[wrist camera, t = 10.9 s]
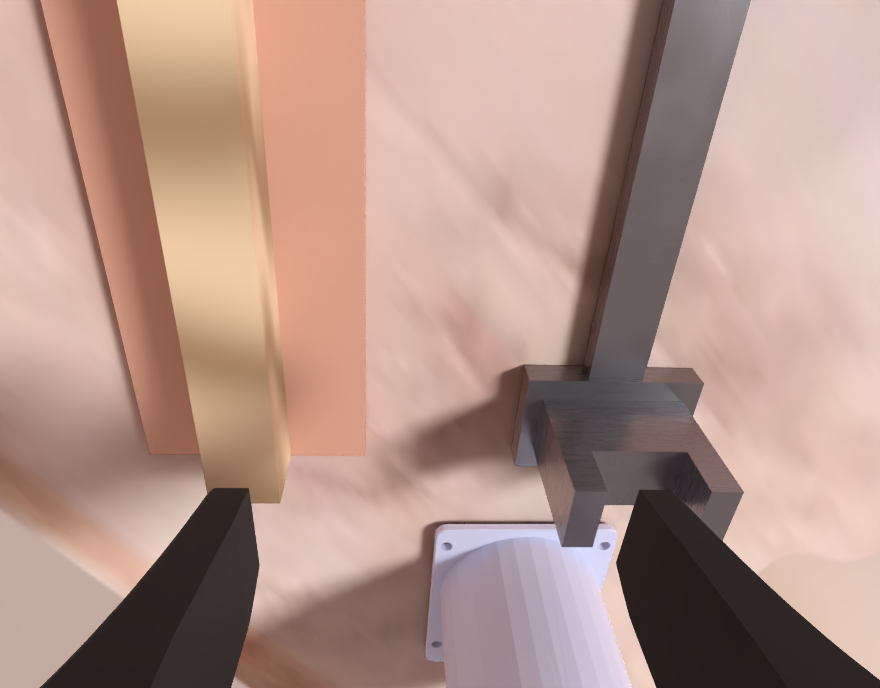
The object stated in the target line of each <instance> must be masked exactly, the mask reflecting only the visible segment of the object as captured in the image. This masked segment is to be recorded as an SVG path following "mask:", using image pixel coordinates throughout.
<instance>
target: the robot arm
mask: <svg viewBox="0 0 880 688" xmlns="http://www.w3.org/2000/svg"><path fill="white" fill-rule="evenodd" d="M617 538H618V534H617V531H616V529H615V527H614V526H613V525H611V524H599V526H598V530H597V533H596V537H595V540H594V544H593V547H561V544H560V540H559V537H558V533H557V530H556V526H555V524H444V525H441V526H439V527H438V528H437V529H436V531H435V540H434V552H433V564H432V576H431V588H430V600H429V612H428V624H427V636H426V648H425V655H426V658H427V659H428V660H429V661H432V662H444V666H445V681H446V688H632V685H631V682H630V679H629V676H628V673H627V670H626V667H625V664H624V661H623V658H622V655H621V652H620V649H619V646H618V643H617V640H616V637H615V634H614V631H613V628H612V625H611V622H610V619H609V616H608V613H607V610H606V607H605V604H604V600H603V597H602V594H601V590H602V586H603V583H604V580H605V577H606V573H607V570H608V567H609V564H610V560H611V557H612V554H613V551H614V547H615V544H616V541H617ZM446 542H448V543H446ZM602 542H603V543H602ZM445 543H446V544H445ZM616 565H617V569H618V573H619V577H620V581H621V586H622V590H623V594H624V598H625V601H626V605H627V609H628V613H629V616H630V619H631V622H632V625H633V627H634V630H635V633H636V635H637V638H638V641H639V643H640V646H641V649H642V651H643V654H644V656H645V659H646V662H647V664H648V667H649V669H650V672H651V675H652V677H653V680H654V682H655V685H656V688H880V680H879V679H877V678H876V677H875V676H873V674H871V673H870V672H869V671H868V670H866V669H865V668H864V667H862V666H861V665H860V664H859V663H857V662H856V661H855V660H853V659H852V658H851V657H849V656H848V655H847V654H846V653H845V652H843V651H842V650H841V649H840V648H839V647H837V646H836V645H835V644H834V643H833V642H831V641H830V640H829V639H828V638H826V637H825V636H824V635H823V634H822V633H821V632H820V631H819V630H817V629H816V628H815V627H814V626H813V625H812V624H811V623H809V622H808V621H807V620H806V619H805V618H804V617H803V616H801V615H800V614H799V613H798V612H797V611H796V610H795V609H793V608H792V607H791V606H790V605H789V604H788V603H787V602H786V601H785V600H783V599H782V598H781V597H780V596H779V595H778V594H777V593H776V592H775V591H774V590H773V589H771V588H770V587H769V586H768V585H767V584H766V583H765V582H764V581H763V580H762V579H761V578H760V577H759V576H758V575H757V574H756V573H755V572H754V571H752V570H751V569H750V568H749V567H748V566H747V565H746V564H745V563H744V562H743V561H742V560H741V559H740V558H739V557H738V556H737V555H736V554H735V553H734V552H733V551H732V550H731V549H730V548H729V547H728V546H727V545H726V544H725V543H724V542H723V541H722V540H721V539H720V538H719V537H718V536H717V535H716V534H715V533H714V532H713V531H712V530H711V529H710V528H709V527H708V526H707V525H706V524H705V523H704V522H703V521H702V520H701V519H700V518H699V517H698V516H697V515H696V514H695V513H694V512H693V511H692V510H691V509H690V508H689V507H688V506H687V505H686V504H685V503H684V502H683V501H682V500H681V499H680V498H679V497H678V496H677V495H676V494H674V493H673V492H672V491H671V490H639V492H638V495H637V498H636V501H635V505H634V508H633V511H632V514H631V517H630V520H629V524H628V527H627V530H626V533H625V536H624V539H623V543H622V546H621V549H620V552H619V555H618V558H617V562H616ZM258 571H259V558H258V551H257V543H256V536H255V529H254V521H253V514H252V506H251V499H250V492H249V488H214V489H212V490H211V491H210V492H209V493H208V494H207V495H206V497H205V498H204V500H203V501H202V502H201V504H200V505H199V506H198V508H197V509H196V510H195V512H194V513H193V514H192V516H191V517H190V518H189V520H188V521H187V522H186V524H185V525H184V526H183V528H182V529H181V530H180V532H179V533H178V534H177V536H176V537H175V538H174V539H173V541H172V542H171V543H170V544H169V546H168V547H167V548H166V550H165V551H164V552H163V553H162V555H161V556H160V557H159V558H158V559H157V561H156V562H155V563H154V564H153V565H152V567H151V568H150V569H149V570H148V571H147V573H146V574H145V575H144V576H143V577H142V579H141V580H140V581H139V582H138V583H137V585H136V586H135V587H134V588H133V589H132V591H131V592H130V593H129V594H128V595H127V596H126V598H125V599H124V600H123V601H122V602H121V603H120V604H119V605H118V606H117V608H116V609H115V610H114V611H113V612H112V613H111V614H110V615H109V616H108V618H107V619H106V620H105V621H104V622H103V623H102V624H101V625H100V626H99V627H98V629H97V630H96V631H95V632H94V633H93V634H92V635H91V636H90V637H89V638H88V640H87V641H86V642H85V643H84V644H83V645H82V646H81V647H80V648H79V649H78V650H77V651H76V652H75V653H74V654H73V655H72V656H71V657H70V658H69V659H68V660H67V661H66V662H65V663H64V664H63V665H62V666H61V668H59V669H58V670H57V672H56V673H55V674H54V675H52V676H51V677H50V678H49V679H48V680H47V682H45V683H44V684H43V685H42V686H41V687H40V688H231V685H232V682H233V679H234V675H235V672H236V668H237V665H238V661H239V658H240V654H241V651H242V647H243V644H244V640H245V637H246V633H247V630H248V626H249V622H250V617H251V612H252V606H253V601H254V595H255V589H256V583H257V577H258Z"/></svg>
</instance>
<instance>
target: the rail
mask: <svg viewBox="0 0 880 688" xmlns="http://www.w3.org/2000/svg"><path fill="white" fill-rule="evenodd" d="M117 5H118V10H119V16H120V21H121V27H122V32H123V37H124V43H125V48H126V54H127V59H128V65H129V70H130V76H131V81H132V86H133V92H134V97H135V103H136V108H137V114H138V119H139V124H140V130H141V135H142V141H143V146H144V152H145V157H146V162H147V168H148V173H149V179H150V184H151V190H152V195H153V201H154V206H155V211H156V217H157V222H158V228H159V233H160V239H161V244H162V249H163V255H164V260H165V266H166V271H167V277H168V282H169V287H170V293H171V298H172V304H173V309H174V315H175V320H176V326H177V331H178V336H179V342H180V347H181V353H182V358H183V364H184V369H185V374H186V380H187V385H188V391H189V396H190V402H191V407H192V412H193V418H194V423H195V429H196V434H197V440H198V445H199V451H200V456H201V461H202V467H203V472H204V478H205V483H206V489H207V494H208V493H209V492H210V491H211V490H212V489H214V488H249V492H250V499H251V503H280V502H281V497H282V493H283V488H284V484H285V480H286V475H287V471H288V467H289V462H290V458H291V454H290V442H289V430H288V418H287V406H286V394H285V382H284V370H283V358H282V346H281V334H280V322H279V310H278V298H277V286H276V274H275V262H274V251H273V239H272V227H271V215H270V203H269V191H268V179H267V167H266V155H265V143H264V131H263V119H262V107H261V95H260V83H259V71H258V59H257V47H256V35H255V23H254V11H253V0H117Z"/></svg>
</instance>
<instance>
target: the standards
mask: <svg viewBox="0 0 880 688" xmlns="http://www.w3.org/2000/svg"><path fill="white" fill-rule="evenodd" d="M750 1H751V0H663V4H662V9H661V14H660V18H659V23H658V27H657V32H656V36H655V41H654V45H653V50H652V55H651V59H650V64H649V68H648V73H647V77H646V82H645V86H644V91H643V96H642V100H641V105H640V109H639V114H638V118H637V123H636V128H635V132H634V137H633V141H632V146H631V150H630V155H629V159H628V164H627V169H626V173H625V178H624V182H623V187H622V191H621V196H620V200H619V205H618V210H617V214H616V219H615V223H614V228H613V232H612V237H611V241H610V246H609V251H608V255H607V260H606V264H605V269H604V273H603V278H602V282H601V287H600V292H599V296H598V301H597V305H596V310H595V314H594V319H593V323H592V328H591V333H590V337H589V342H588V346H587V351H586V355H585V360H584V365H583V366H553V365H524V371H523V378H522V384H521V390H520V396H519V403H518V409H517V415H516V421H515V428H514V434H513V440H512V446H511V450H512V455H513V459H514V463H515V466H538V468H539V471H540V475H541V478H542V481H543V485H544V488H545V492H546V495H547V499H548V502H549V506H550V509H551V513H552V516H553V520H554V523H555V526H556V530H557V533H558V537H559V540H560V544H561V547H593V544H594V540H595V537H596V533H597V530H598V526H599V522H600V519H601V515H602V512H603V508H604V505H635V501H636V498H637V495H638V492H639V490H671V491H672V492H673V493H674V494H676V495H677V496H678V497H679V498H680V499H681V500H682V501H683V502H684V503H685V504H686V505H687V506H688V507H689V508H690V509H691V510H692V511H693V512H694V513H695V514H696V515H697V516H698V517H699V518H700V519H701V520H702V521H703V522H704V523H705V524H706V525H707V526H708V527H709V528H710V529H711V530H712V531H713V532H714V533H715V534H716V535H717V536H718V537H719V538H720V539H721V540H722V541H723V538H724V536H725V534H726V531H727V529H728V527H729V525H730V522H731V520H732V518H733V515H734V513H735V511H736V509H737V506H738V504H739V502H740V499H741V497H742V495H743V493H744V492H743V490H742V489H741V487H740V486H739V484H738V483H737V481H736V480H735V478H734V477H733V475H732V474H731V473H730V471H729V470H728V468H727V467H726V465H725V464H724V462H723V461H722V459H721V458H720V456H719V455H718V453H717V452H716V450H715V449H714V448H713V446H712V445H711V443H710V442H709V440H708V439H707V437H706V436H705V434H704V433H703V431H702V430H701V428H700V427H699V425H698V424H697V423H696V421H695V420H694V418H693V414H694V411H695V408H696V405H697V402H698V399H699V397H700V394H701V391H702V388H703V385H704V383H703V382H702V380H701V379H700V378H699V376H698V375H697V374H696V372H695V371H694V370H693V369H692V368H647V364H648V360H649V357H650V353H651V350H652V346H653V343H654V339H655V336H656V332H657V329H658V325H659V322H660V318H661V314H662V311H663V307H664V304H665V300H666V297H667V293H668V290H669V286H670V283H671V279H672V276H673V272H674V269H675V265H676V262H677V258H678V255H679V251H680V248H681V244H682V241H683V237H684V233H685V230H686V226H687V223H688V219H689V216H690V212H691V209H692V205H693V202H694V198H695V195H696V191H697V188H698V184H699V181H700V177H701V174H702V170H703V167H704V163H705V160H706V156H707V152H708V149H709V145H710V142H711V138H712V135H713V131H714V128H715V124H716V121H717V117H718V114H719V110H720V107H721V103H722V100H723V96H724V93H725V89H726V86H727V82H728V78H729V75H730V71H731V68H732V64H733V61H734V57H735V54H736V50H737V47H738V43H739V40H740V36H741V33H742V29H743V26H744V22H745V19H746V15H747V12H748V8H749V5H750Z"/></svg>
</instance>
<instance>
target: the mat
mask: <svg viewBox="0 0 880 688" xmlns="http://www.w3.org/2000/svg"><path fill="white" fill-rule="evenodd" d="M40 1H41V5H42V9H43V13H44V17H45V21H46V26H47V30H48V34H49V38H50V42H51V46H52V50H53V55H54V59H55V63H56V67H57V71H58V75H59V80H60V84H61V88H62V92H63V96H64V100H65V104H66V109H67V113H68V117H69V121H70V125H71V129H72V134H73V138H74V142H75V146H76V150H77V154H78V158H79V163H80V167H81V171H82V175H83V179H84V183H85V188H86V192H87V196H88V200H89V204H90V208H91V212H92V217H93V221H94V225H95V229H96V233H97V237H98V242H99V246H100V250H101V254H102V258H103V262H104V266H105V271H106V275H107V279H108V283H109V287H110V291H111V296H112V300H113V304H114V308H115V312H116V316H117V320H118V325H119V329H120V333H121V337H122V341H123V345H124V349H125V354H126V358H127V362H128V366H129V370H130V374H131V379H132V383H133V387H134V391H135V395H136V399H137V403H138V408H139V412H140V416H141V420H142V424H143V428H144V433H145V437H146V441H147V445H148V449H149V453H150V454H184V455H200V451H199V445H198V440H197V434H196V429H195V423H194V418H193V412H192V407H191V402H190V396H189V391H188V385H187V380H186V374H185V369H184V364H183V358H182V353H181V347H180V342H179V336H178V331H177V326H176V320H175V315H174V309H173V304H172V298H171V293H170V287H169V282H168V277H167V271H166V266H165V260H164V255H163V249H162V244H161V239H160V233H159V228H158V222H157V217H156V211H155V206H154V201H153V195H152V190H151V184H150V179H149V173H148V168H147V162H146V157H145V152H144V146H143V141H142V135H141V130H140V124H139V119H138V114H137V108H136V103H135V97H134V92H133V86H132V81H131V76H130V70H129V65H128V59H127V54H126V48H125V43H124V37H123V32H122V27H121V21H120V16H119V10H118V5H117V0H40ZM253 11H254V23H255V35H256V47H257V59H258V71H259V83H260V95H261V107H262V119H263V131H264V143H265V155H266V167H267V179H268V191H269V203H270V215H271V227H272V239H273V251H274V262H275V274H276V286H277V298H278V310H279V322H280V334H281V346H282V358H283V370H284V382H285V394H286V406H287V418H288V430H289V442H290V454H291V455H305V456H365V0H253Z"/></svg>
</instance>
